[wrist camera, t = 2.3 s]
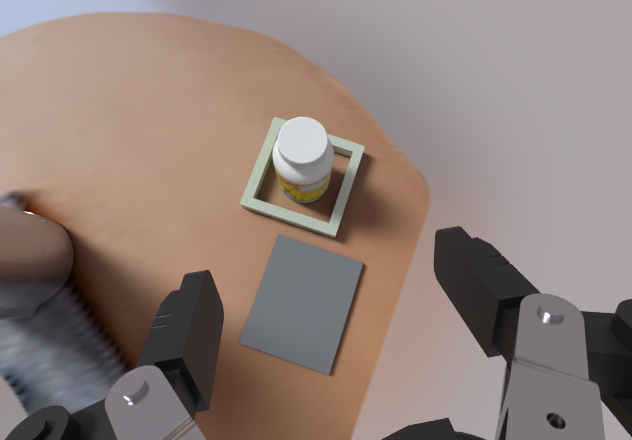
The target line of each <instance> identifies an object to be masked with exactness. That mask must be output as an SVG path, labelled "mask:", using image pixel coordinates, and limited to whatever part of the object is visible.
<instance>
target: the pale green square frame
mask: <svg viewBox="0 0 632 440" xmlns="http://www.w3.org/2000/svg"><path fill="white" fill-rule="evenodd" d="M286 122H288V121H286V120H283V119H280V118H277V117H274V119H273V121H272V124H271V126H270V129H269V132H268V134H267V137H266V139H265V142H264V144H263V147H262V149H261V152H260V154H259V157H258V159H257V162H256V164H255V167H254V169H253V172H252V175H251V177H250V180H249V182H248V185H247V187H246V190H245V192H244V195H243V197H242V200H241V202H240V205H241V206H242V207H243V208H246V209H249V210H252V211H254V212H257V213H260V214H263V215H266V216H269V217H272V218H275V219H278V220H281V221H284V222H287V223H290V224H293V225H296V226H299V227H302V228H305V229H308V230H311V231H314V232H317V233H320V234H323V235H326V236H329V237H332V238H335V236H336V233H337V230H338V227H339V224H340V221H341V218H342V215H343V212H344V209H345V206H346V203H347V200H348V196H349V193H350V190H351V187H352V184H353V181H354V178H355V175H356V172H357V169H358V166H359V163H360V160H361V157H362V154H363V151H364V148H365V146H363V145H360V144H357V143H354V142H351V141H348V140H345V139H342V138H339V137H336V136H332V135H329V134H327V136H328V138H329V140H330V141H331V144H332V146H333V150H334V152H337V153H340V154H343V155H346V156H349V157H351V159H350V162H349V165H348V168H347V171H346V174H345V177H344V180H343V183H342V186H341V189H340V192H339V195H338V198H337V201H336V204H335V207H334V210H333V213H332V216H331V219H330V222H329V223H326V222H323V221H320V220H317V219H314V218H311V217H308V216H305V215H302V214H299V213H296V212H293V211H290V210H287V209H284V208H281V207H278V206H275V205H272V204H269V203H266V202H263V201H261V200H258V199H256V198H257V196H258V193H259V190H260V188H261V185H262V183H263V180H264V178H265V175H266V172H267V170H268V167H269V165H270V162H271V159H272V157H273V155H272V154H273V147H274V144H275V142H276V140H277V138H278V133H279V131H280V129H281V127H282V126H283V125H284V124H285V123H286Z"/></svg>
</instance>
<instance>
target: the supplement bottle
mask: <svg viewBox="0 0 632 440" xmlns="http://www.w3.org/2000/svg"><path fill="white" fill-rule="evenodd" d="M272 155H273V163H274V167H275V170H276V174H277V177H278V181H279V185H280V187H281V189H282V191H283V192H284V193H285V194H286V195H287V196H288V197H289V198H291V199H293V200H294V201H297V202H301V203H307V202H312V201H315V200H317V199H318V198H320V197H321V196H322V195H323V194H324V193H325V191H326V190H327V188H328V185H329V182H330V177H331V171H332V166H333V161H334V150H333V146H332V144H331V141H330V140H329V138H328V136H327V133H326V131H325V129H324V127H323V126H322V125H321V124H320V123H319V122H318V121H316V120H314V119H312V118H308V117H297V118H293V119H291V120H289V121H288V122H286V123H285V124H284V125H283V126H282V127H281V129H280V131H279V133H278V138H277V140H276V142H275V144H274V147H273V154H272Z"/></svg>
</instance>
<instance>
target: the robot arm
mask: <svg viewBox="0 0 632 440" xmlns="http://www.w3.org/2000/svg"><path fill="white" fill-rule="evenodd" d="M73 260H74V251H73V245H72V242H71V239H70V237H69V235H68V233H67V232H66V231H65V229H64V228H63V227H62V226H60V225H59V224H58V223H57V222H55V221H53V220H51V219H49V218H46V217H42V216H38V215H36V214H33V213H29V212H25V211H20V210H16V209H12V208H9V207H5V206H1V205H0V320H10V319H19V318H28V317H32V316H33V315H34V313H35V311H36V309H37V308H38V306H40V305H41V304H43V303H44V302H46V301H47V300H49V299H51V298H52V297H53V296H54V295H55V294H56V293H57V292H59V291H60V289H61V288H62V287H63V285H64V284H65V283H66V281H67V279H68V277H69V275H70V273H71V269H72V266H73ZM434 272H435V275H436V278H437V280H438V282H439V284H440V285H441V287H442V288H443V290H444V291H445V293H446V294H447V296H448V297H449V299H450V301H451V302H452V304H453V305H454V306H455V308H456V310H457V311H458V313H459V314H460V315H461V317H462V319H463V320H464V322H465V323H466V325H467V326H468V328H469V329H470V331H471V333H472V334H473V336H474V337H475V339H476V340H477V342H478V343H479V345H480V346H481V348H482V349H483V351H484V352H485V354H486V355H487V357H494V356H499V355H502V356H503V357H504V359H505V360H506V362H507V363H506V367H505V373H504V381H503V389H502V396H501V403H500V411H499V418H498V425H497V431H496V436H495V440H605V436H604V426H603V417H602V407H601V400H602V401H603V403H604V404H605V405H606V406H607V407H608V409H609V410H610V411H611V412H612V413H613V415H614V416H615V417H616V418H617V420H618V421H619V422H620V423H621V425H622V426H623V427H624V428H625V430H626V431H627V432H628V433H629V434H630V435H631V437H632V299H629V300H625V301H622V302H621V303H620V304H619V305H618V307H617V309H616V312H615V314H614V313H599V312H585V311H579V310H578V308H576V307H575V306H574V305H573V304H571V303H570V302H568V301H567V300H565V299H562V298H560V297H557V296H554V295H550V294H542V293H540V292H539V291H538V290H537V289H536V288H535V287H534V286H533V285H532V284H531V283H530V282H529V281H528V280H527V279H526V278H525V277H524V276H523V275H522V274H521V273H520V272H519V271H518V270H517V269H516V268H515V267H514V266H513V265H512V264H511V265H510V263H509V261H508V260H507V259H506V258H505V257H504V256H501V253H500V252H499V251H498V250H497V249H495V248H494V247H493V246H492V245H491V244H489V243H487V242H485V241H483V240H481V239H479V238H478V237H477V238H471V237H470V236H469V235H468V234H467V233H466V232H465V231H464V230H463V228H461V227H460V226H457V227H451V228H446V229H440V230H437V231H436V234H435V250H434ZM156 316H157V318H155V320H154V323H153V325H152V329H151V330H150V333H149V335H148V337H147V340H146V342H145V345H144V347H143V350H142V352H141V355H140V357H139V360H138V362H137V365H136V367H135V369H133V370H131V371H129V372H128V373H126V374H125V375H123V376H122V377H121V378H120V379H119V380H118V381H117V382H116V383H115V384H114V385H113V386H112V388H111V389H110V391H109V392H108V394H107V397H106V398H105V399H103V400H101V401H99V402H97V403H95V404H93V405H91V406H88V407H86V408H84V409H82V410H80V411H77V412H75V413H73V414H70V413H69V412H68V411H67V410H66V408H64V407H63V406H49V407H46V408H43V409H41V410H39V411H37V412H35V413H33V414H32V415H30V416H29V417H27V418H26V419H24V420H23V421H22V422H21V423H20V424H19V425H17V426H16V427H15V428H14V429H13V430H12V432H11V433H10V434H9V435H8V436H7V438H6V439H5V440H206V438H205V437H204V435H203V434H202V432H201V431H200V429H199V427H198V426H197V424H196V423H195V421H194V418H195V413H196V412H198V411H203V410H208V409H209V405H210V399H211V393H212V387H213V381H214V375H215V369H216V363H217V357H218V351H219V345H220V339H221V333H222V327H223V321H224V310H223V305H222V301H221V299H220V296H219V293H218V291H217V288H216V285H215V283H214V280H213V277H212V275H211V273H210V271H209V270H204V271H199V272H193V273H187V274H185V276H184V278H183V281H182V284H181V287H180V289H179V290H176V291H172V292H171V293H170V294H169V295H168V296H167V297H166V298H165V300H164V301H163V302H162V303H161V305H160V308H159V310H158V313H157V315H156ZM382 440H485V439H483V438H480V437H477V436H475V435H471V434H467V433H463V432H456V431H454V429H453V427H452V425H451V423H450V420H449V418H445V419H440V420H435V421H429V422H424V423H419V424H414V425H409V426H407V427H405V428H403V429H401V430H399V431H397V432H395V433H393V434H391V435H389V436H388V437H386V438H384V439H382Z"/></svg>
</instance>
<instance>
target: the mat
mask: <svg viewBox="0 0 632 440" xmlns="http://www.w3.org/2000/svg"><path fill="white" fill-rule="evenodd" d="M362 266H363V263H362V262H359V261H356V260H353V259H350V258H347V257H344V256H341V255H338V254H335V253H332V252H330V251H327V250H324V249H321V248H318V247H315V246H312V245H309V244H306V243H303V242H300V241H297V240H294V239H291V238H288V237H285V236H282V235H279V234H278V236H277V239H276V242H275V245H274V247H273V250H272V253H271V256H270V258H269V261H268V264H267V267H266V269H265V272H264V275H263V278H262V280H261V283H260V286H259V289H258V291H257V294H256V297H255V299H254V302H253V305H252V308H251V310H250V313H249V316H248V319H247V321H246V324H245V327H244V330H243V332H242V335H241V338H240V341H239V344H242V345H245V346H248V347H251V348H254V349H256V350H259V351H262V352H265V353H268V354H271V355H273V356H276V357H279V358H282V359H285V360H288V361H290V362H293V363H296V364H299V365H302V366H305V367H307V368H310V369H313V370H316V371H319V372H322V373H324V374H327V375H329V374H330V370H331V367H332V364H333V361H334V357H335V354H336V351H337V347H338V344H339V341H340V338H341V334H342V331H343V328H344V325H345V321H346V318H347V315H348V311H349V308H350V305H351V302H352V298H353V295H354V292H355V289H356V285H357V282H358V279H359V275H360V272H361V269H362Z"/></svg>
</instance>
